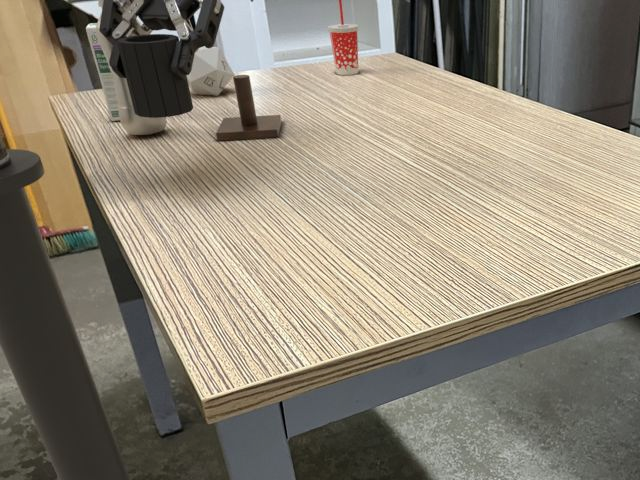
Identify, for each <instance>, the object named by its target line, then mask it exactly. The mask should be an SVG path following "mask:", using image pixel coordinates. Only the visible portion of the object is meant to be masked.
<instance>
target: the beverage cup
mask: <svg viewBox="0 0 640 480" xmlns="http://www.w3.org/2000/svg"><path fill="white" fill-rule="evenodd" d="M338 2H339V14H340V23H339V24H338V23H337V24H331V25H328V26H327V29H328V30H327V31H328V32H329V38H330V43H331V49H332V56H333V61H334V68H335V72H336V75H339V76H350V75H351V76H352V75H357V74H359V49H358V48H359V47H358V46H359V44H358V31H359V25H358V24H355V23H344V22H345V21H344V12H343V4H342V0H338Z"/></svg>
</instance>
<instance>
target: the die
mask: <svg viewBox="0 0 640 480" xmlns="http://www.w3.org/2000/svg"><path fill="white" fill-rule="evenodd" d="M234 76H235V73H234V71H233V70H232V67H231V66H230V65H229V63H228V61H227V59H226V57H225V55H224V54H223V52H222V50H221V48H220V47H219V46H218V47H217V46H213V47H212V48H206V47H205V46H204V47H201V48H199V49H198V51H197V52H195V55H194V60H193V65H192V70H191V72H190V74H189V75H187V80H188V85H189V89H190V90H191V91H192V93H193V95H200V96H212V97H213V96H215V97H217V96H219V95H220V94H221V93H222V92H223V90H224V89H225V88H226V87H227V85H228V84H229V83H230V81H231V80H233V77H234Z"/></svg>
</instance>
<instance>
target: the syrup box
mask: <svg viewBox="0 0 640 480" xmlns="http://www.w3.org/2000/svg"><path fill="white" fill-rule="evenodd" d="M96 25H97V22H91V23H88V24H87V26H86V27H85V31H86V35H87V39H88V43H89V46H90V50H91V54H92V57H93V60H94V64H95V66H96V70H97V73H98V77H99V80H100V85H101V87H102V91H103V95H104V98H105V102H106V106H107V110H108V115H109V118H110V120H111V122H119V121H120V117H119V111H118V105H119V103H118V99H117V94H116V89H115V84H114V80H113V77H112V72H111V71H110V68H109V65H108V62H107V60H106V57H105V55H104V53H103V50H102V48H101V46H100V42H99V41H98V38H97V36H96Z"/></svg>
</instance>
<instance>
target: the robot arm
mask: <svg viewBox="0 0 640 480" xmlns="http://www.w3.org/2000/svg"><path fill="white" fill-rule="evenodd" d="M198 11H199V14H198V17H197V19H196V23H195V27H194V28H193V25H192V22H191V20H190V19H191V18H192V17H193V16H194V15H195V14H196V13H197V12H198ZM224 11H225V5H224V4H223V2H222V0H104V1H103V8H102V7H101V13H102V14H101V13H100V15H101V20H100V27H99V31H100V32H101V33H102V34H103V36H104V37H105V38H106V39H107V40H108V41H109V42H110V43H111V44H112V45H113V47H112V51H111V56H110V60H109V64H110V66H111V67H112V70H113V71H114V72H115V73H116V74H117V75H118V76H119V77H120V78H126V76H125V72H124V68H123V64H122V60H121V56H120V53H119V49H118V45H117V40H119V39H120V38H124V37H127V36H126V35H127V33H128V32H129V31H130V30H131V29H132V33H131V34H130V35H129V36H136V35H147V34H152V33H153V31H162V30H167V31H171V32H176V33H177V35H178V37H179V41H176V44H175V48H174V53H173V58H172V63H171V71H172V73H173V74H174V75H175V76H176V78H177V79H178V80H185V79H186V76H187V75H189V74H190V72H191V70H192V65H193V60H194V55H195V52H197V51H198V49H199V48H201V47H206V48H212V47H215V42H216V39H217V36H218V32H219V29H220V26H221V22H222V18H223V15H224ZM137 18H138V19H139V20H140V21H141V25H142V26H140V25H139V24H138V23H137V21H136V19H137ZM129 36H128V37H129ZM7 149H8V148H7V146H6V144H5V141H4V139H3V136H2V133H1V132H0V169H2V168H4V167H6V166H8V165H9V164H10V163H11V158H10V155H9V153H8V152H7Z"/></svg>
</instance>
